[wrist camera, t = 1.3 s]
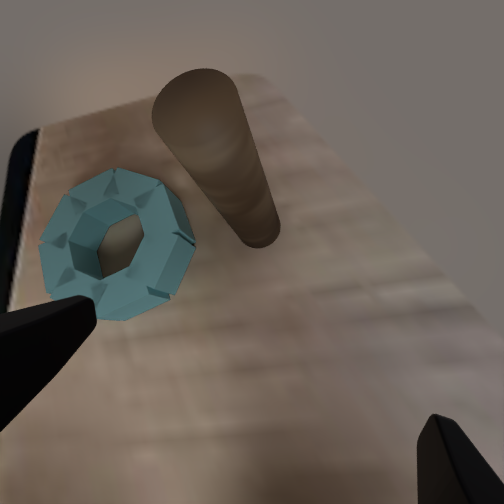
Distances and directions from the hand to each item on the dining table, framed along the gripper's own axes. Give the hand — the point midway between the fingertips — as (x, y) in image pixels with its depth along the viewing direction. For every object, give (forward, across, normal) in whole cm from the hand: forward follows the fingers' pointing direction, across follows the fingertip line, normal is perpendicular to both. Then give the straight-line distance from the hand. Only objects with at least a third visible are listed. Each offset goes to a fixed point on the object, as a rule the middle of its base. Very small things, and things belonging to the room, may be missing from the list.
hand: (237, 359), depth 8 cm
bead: (+12, +14, +6) cm, 19 cm away
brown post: (+15, +4, +2) cm, 15 cm away
